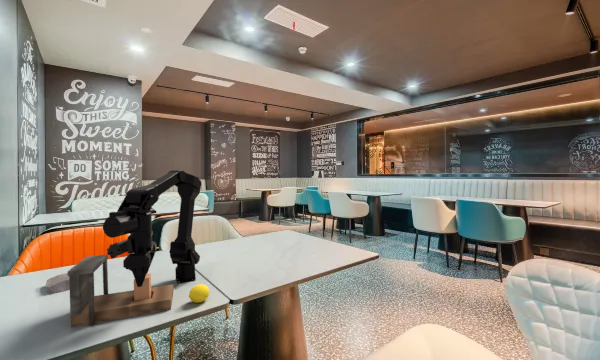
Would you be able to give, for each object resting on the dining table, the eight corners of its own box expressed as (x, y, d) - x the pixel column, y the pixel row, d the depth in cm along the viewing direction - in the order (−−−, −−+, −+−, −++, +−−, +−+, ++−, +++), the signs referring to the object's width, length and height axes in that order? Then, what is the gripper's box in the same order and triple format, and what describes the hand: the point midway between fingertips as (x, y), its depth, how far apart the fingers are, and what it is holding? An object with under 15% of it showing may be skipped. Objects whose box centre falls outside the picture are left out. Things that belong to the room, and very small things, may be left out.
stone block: (50, 300, 92) (86, 285, 99) (46, 287, 91) (82, 273, 99) (46, 292, 100) (79, 278, 107) (42, 280, 99) (76, 267, 107)
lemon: (202, 297, 90) (204, 280, 91) (212, 301, 87) (214, 284, 87) (183, 302, 84) (184, 285, 85) (193, 307, 81) (195, 289, 82)
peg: (151, 301, 86) (150, 273, 86) (149, 307, 83) (149, 277, 82) (136, 304, 85) (136, 275, 85) (134, 310, 81) (133, 280, 81)
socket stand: (173, 291, 93) (172, 247, 93) (170, 311, 80) (169, 259, 80) (88, 305, 84) (86, 256, 84) (68, 329, 71) (67, 271, 71)
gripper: (117, 226, 89) (118, 274, 89) (100, 239, 71) (101, 298, 72) (156, 224, 93) (157, 269, 93) (148, 235, 76) (149, 291, 76)
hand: (142, 280), depth 83 cm, fingers open, 9 cm apart
